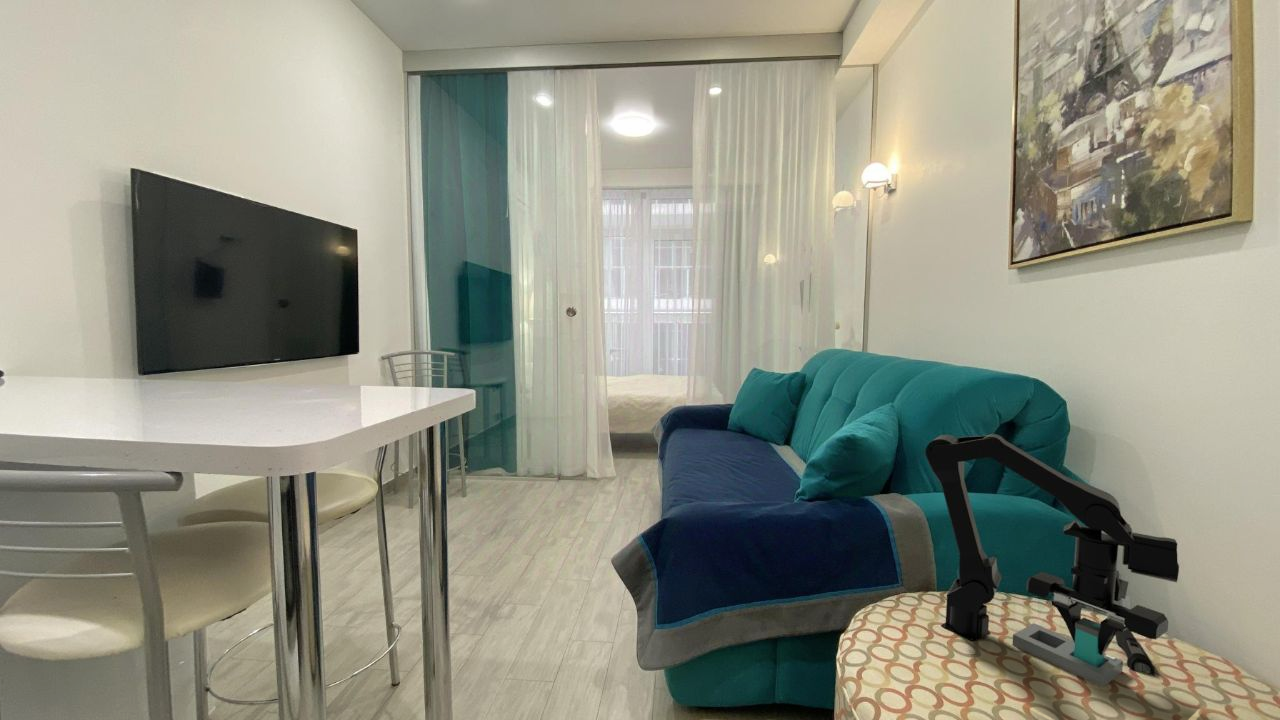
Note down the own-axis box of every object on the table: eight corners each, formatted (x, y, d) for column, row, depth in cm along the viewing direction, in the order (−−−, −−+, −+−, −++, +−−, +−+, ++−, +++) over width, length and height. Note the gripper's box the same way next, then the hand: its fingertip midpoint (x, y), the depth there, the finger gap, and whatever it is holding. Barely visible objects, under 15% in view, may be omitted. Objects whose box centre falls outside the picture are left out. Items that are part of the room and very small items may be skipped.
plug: (1072, 660, 98) (1075, 622, 98) (1081, 654, 100) (1083, 617, 100) (1095, 670, 95) (1098, 631, 95) (1104, 664, 97) (1106, 626, 97)
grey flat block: (1012, 647, 105) (1013, 633, 105) (1032, 635, 109) (1033, 622, 109) (1102, 689, 93) (1103, 674, 93) (1122, 674, 97) (1123, 659, 97)
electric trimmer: (1134, 639, 109) (1135, 623, 109) (1156, 680, 96) (1158, 663, 95) (1109, 633, 111) (1110, 618, 111) (1128, 673, 98) (1129, 656, 97)
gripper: (1183, 574, 93) (1176, 663, 94) (1055, 537, 109) (1050, 613, 110) (1158, 590, 87) (1151, 684, 88) (1027, 548, 103) (1022, 628, 104)
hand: (1089, 648), depth 98 cm, fingers closed on plug, 3 cm apart
